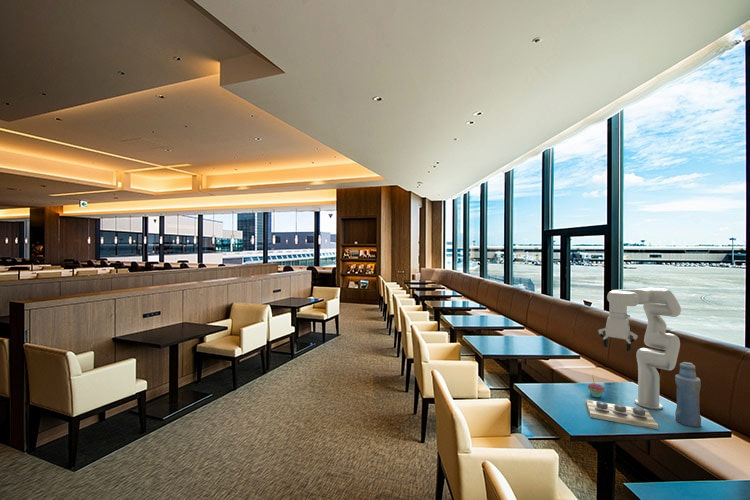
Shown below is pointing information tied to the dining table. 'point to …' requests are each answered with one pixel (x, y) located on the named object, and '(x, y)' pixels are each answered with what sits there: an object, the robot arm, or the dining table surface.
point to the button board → (621, 416)
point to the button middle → (620, 408)
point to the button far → (602, 405)
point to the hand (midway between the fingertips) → (617, 349)
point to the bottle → (688, 396)
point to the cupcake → (596, 389)
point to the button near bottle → (639, 411)
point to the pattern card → (613, 406)
